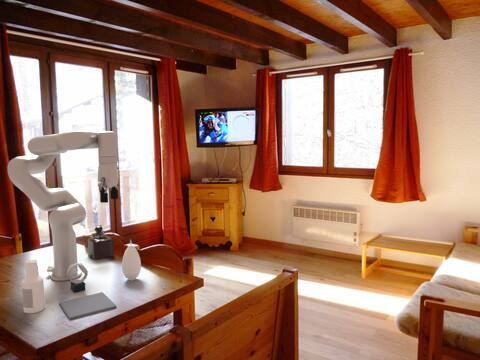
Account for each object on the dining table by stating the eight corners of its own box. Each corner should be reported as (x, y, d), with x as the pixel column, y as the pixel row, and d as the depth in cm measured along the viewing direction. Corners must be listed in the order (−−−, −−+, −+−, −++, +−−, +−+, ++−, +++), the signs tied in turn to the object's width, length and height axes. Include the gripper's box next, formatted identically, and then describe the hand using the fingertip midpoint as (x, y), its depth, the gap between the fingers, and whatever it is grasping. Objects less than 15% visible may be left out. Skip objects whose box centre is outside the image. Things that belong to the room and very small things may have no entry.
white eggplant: (136, 283, 166) (134, 242, 164) (119, 282, 168) (117, 241, 166) (144, 277, 174) (143, 237, 172) (128, 276, 175) (126, 236, 174)
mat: (69, 319, 133) (69, 317, 133) (59, 304, 146) (59, 302, 146) (116, 307, 142) (116, 305, 142) (102, 293, 155) (102, 291, 155)
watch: (90, 289, 160) (89, 263, 159) (69, 294, 155) (68, 267, 154) (86, 285, 164) (84, 260, 163) (65, 290, 159) (64, 264, 158)
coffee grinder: (86, 256, 206) (84, 222, 204) (107, 252, 213) (105, 219, 211) (97, 263, 194) (95, 227, 192) (118, 258, 201) (117, 224, 199)
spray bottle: (28, 306, 144) (25, 258, 142) (48, 305, 145) (45, 258, 143) (20, 314, 137) (16, 264, 135) (40, 313, 138) (37, 264, 136)
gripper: (108, 159, 174) (110, 197, 176) (89, 161, 157) (91, 203, 159) (124, 159, 173) (126, 197, 175) (107, 161, 156) (108, 204, 158)
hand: (109, 200), depth 167 cm, fingers open, 9 cm apart
